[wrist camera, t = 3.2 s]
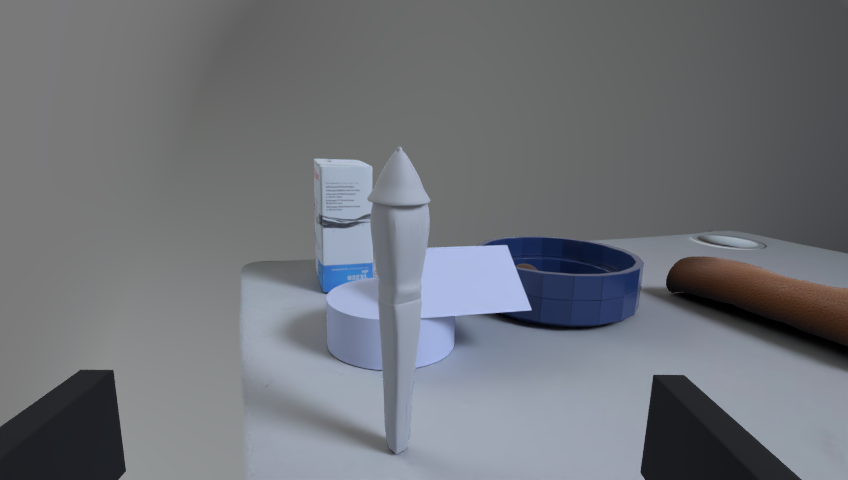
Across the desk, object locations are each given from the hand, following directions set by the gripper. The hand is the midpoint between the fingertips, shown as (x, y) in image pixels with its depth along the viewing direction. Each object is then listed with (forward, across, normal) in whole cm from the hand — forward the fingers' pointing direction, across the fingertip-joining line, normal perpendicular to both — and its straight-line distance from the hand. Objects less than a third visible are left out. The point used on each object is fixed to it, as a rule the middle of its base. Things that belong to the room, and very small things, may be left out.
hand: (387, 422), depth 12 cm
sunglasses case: (+26, +32, -8) cm, 42 cm away
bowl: (+31, +13, -8) cm, 34 cm away
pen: (+10, 0, -8) cm, 12 cm away
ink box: (+36, -6, -8) cm, 38 cm away
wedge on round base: (+22, +1, -8) cm, 24 cm away
